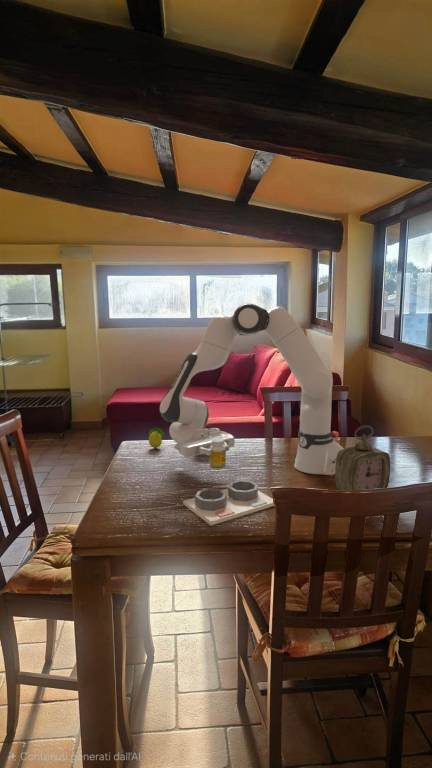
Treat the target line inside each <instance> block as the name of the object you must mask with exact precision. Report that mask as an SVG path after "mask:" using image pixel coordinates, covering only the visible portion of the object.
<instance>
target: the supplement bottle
mask: <svg viewBox="0 0 432 768" xmlns="http://www.w3.org/2000/svg"><path fill="white" fill-rule="evenodd" d="M223 444H224V440H223V439H219V438H217V439H212V446H210V449H212V455H209V469H211V470H214V471H221V470H224V469H225V468H226V467H227V465H226V464H227V463H226V462H227V460H226V459H227V457H226V456H227V455H226V452H227V451H226V448H225V446H224V445H223Z"/></svg>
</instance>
